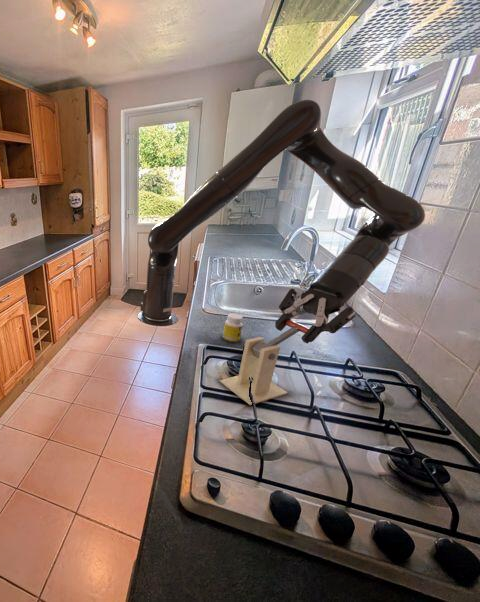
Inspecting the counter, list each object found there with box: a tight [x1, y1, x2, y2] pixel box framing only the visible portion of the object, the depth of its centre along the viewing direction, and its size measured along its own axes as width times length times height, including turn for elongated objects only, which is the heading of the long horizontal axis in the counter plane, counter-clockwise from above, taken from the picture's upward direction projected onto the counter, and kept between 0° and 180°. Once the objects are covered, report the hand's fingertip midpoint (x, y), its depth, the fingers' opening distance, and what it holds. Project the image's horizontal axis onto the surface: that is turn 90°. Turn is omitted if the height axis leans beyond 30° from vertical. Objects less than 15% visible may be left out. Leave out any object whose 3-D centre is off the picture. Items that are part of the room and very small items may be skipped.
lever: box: [252, 319, 310, 358], centre depth 68 cm, size 13×6×2 cm, turn 109°
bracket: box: [219, 336, 288, 406], centre depth 69 cm, size 11×9×13 cm
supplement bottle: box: [222, 313, 244, 343], centre depth 91 cm, size 5×5×8 cm
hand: (290, 334), depth 68 cm, fingers open, 5 cm apart
